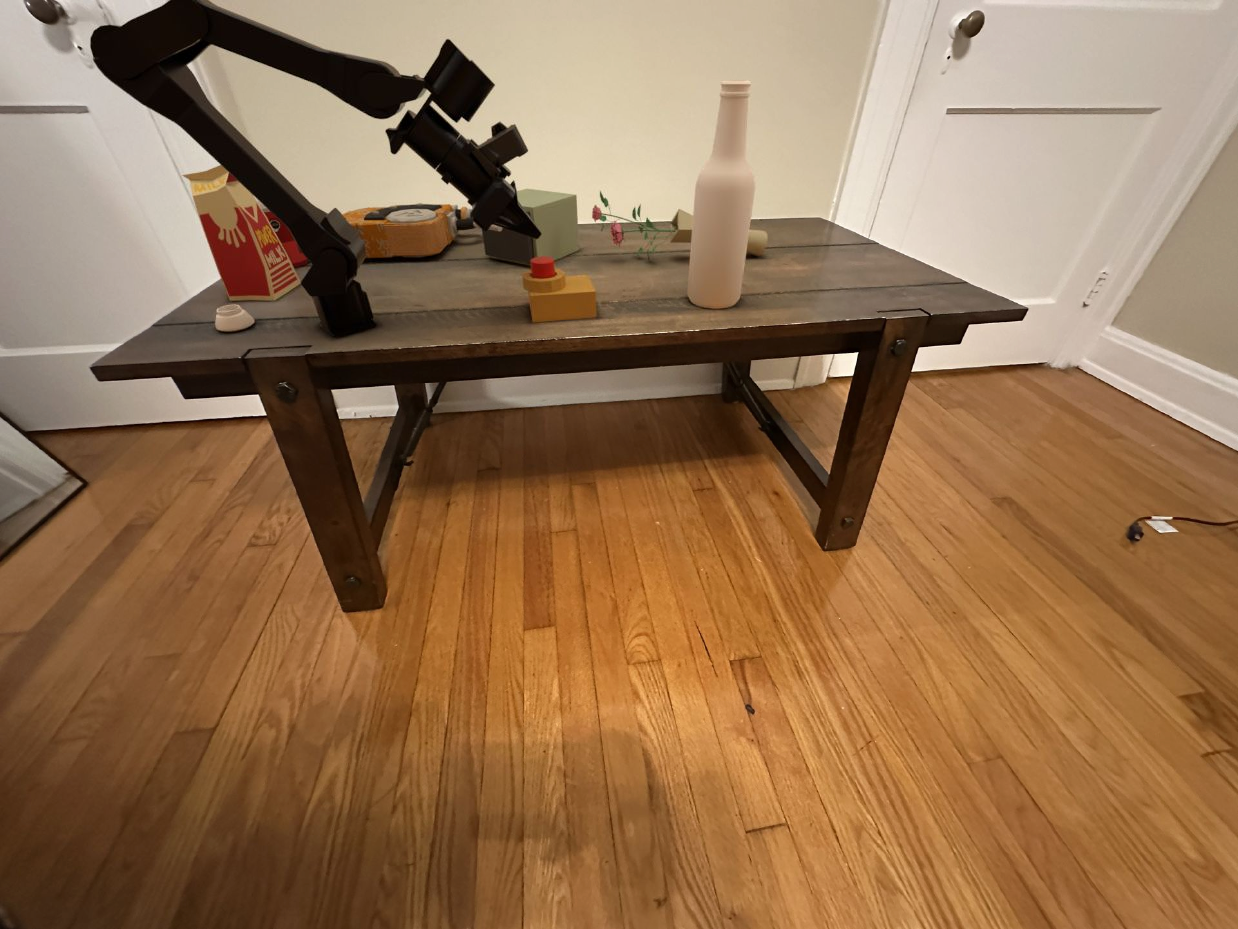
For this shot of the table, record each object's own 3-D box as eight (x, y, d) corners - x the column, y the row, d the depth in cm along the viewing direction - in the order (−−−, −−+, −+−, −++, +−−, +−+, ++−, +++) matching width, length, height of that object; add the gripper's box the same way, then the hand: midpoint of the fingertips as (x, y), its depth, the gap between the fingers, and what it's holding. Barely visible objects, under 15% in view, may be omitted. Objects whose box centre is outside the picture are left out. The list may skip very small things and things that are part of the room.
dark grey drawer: (514, 270, 99) (507, 219, 94) (468, 261, 104) (460, 212, 99) (568, 248, 111) (565, 202, 106) (525, 240, 116) (521, 196, 111)
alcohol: (699, 312, 85) (720, 82, 67) (679, 294, 92) (693, 80, 74) (748, 306, 87) (782, 81, 69) (725, 289, 94) (750, 79, 76)
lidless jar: (216, 325, 81) (219, 336, 78) (207, 306, 80) (210, 317, 76) (253, 318, 84) (257, 328, 80) (245, 299, 82) (249, 309, 79)
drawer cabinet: (538, 267, 104) (532, 207, 98) (489, 257, 109) (481, 200, 103) (579, 250, 113) (576, 194, 107) (532, 242, 119) (527, 188, 112)
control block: (527, 323, 82) (523, 284, 78) (524, 304, 88) (520, 267, 84) (596, 317, 84) (595, 279, 80) (589, 299, 90) (587, 263, 86)
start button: (532, 281, 80) (530, 264, 79) (531, 274, 83) (529, 257, 82) (556, 279, 81) (555, 262, 79) (554, 272, 84) (552, 255, 82)
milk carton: (301, 282, 97) (255, 157, 85) (276, 301, 90) (223, 166, 78) (250, 283, 97) (197, 158, 85) (222, 301, 90) (159, 167, 77)
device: (349, 196, 119) (483, 194, 120) (360, 235, 124) (489, 233, 125) (305, 220, 101) (464, 217, 102) (320, 264, 106) (471, 262, 107)
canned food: (257, 266, 105) (233, 206, 98) (293, 256, 110) (273, 198, 104) (282, 272, 102) (259, 210, 95) (318, 261, 108) (298, 201, 101)
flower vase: (749, 297, 112) (587, 268, 102) (736, 262, 119) (583, 233, 109) (776, 246, 102) (601, 210, 93) (760, 212, 110) (596, 175, 100)
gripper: (485, 104, 60) (585, 205, 69) (485, 96, 75) (568, 180, 83) (428, 184, 64) (530, 271, 72) (439, 161, 78) (523, 236, 87)
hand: (539, 236), depth 78 cm, fingers closed
